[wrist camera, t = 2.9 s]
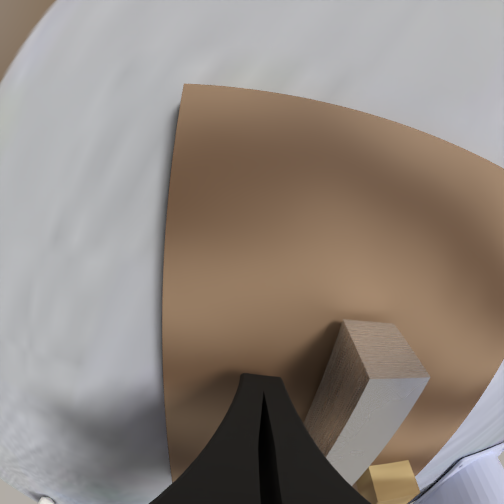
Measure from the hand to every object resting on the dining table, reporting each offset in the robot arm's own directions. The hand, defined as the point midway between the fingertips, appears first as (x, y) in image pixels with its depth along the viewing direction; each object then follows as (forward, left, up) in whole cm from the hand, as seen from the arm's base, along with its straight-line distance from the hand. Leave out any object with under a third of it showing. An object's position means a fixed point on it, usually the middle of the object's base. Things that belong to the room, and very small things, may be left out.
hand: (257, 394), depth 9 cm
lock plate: (-1, -5, -2) cm, 5 cm away
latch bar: (-2, -3, -1) cm, 4 cm away
